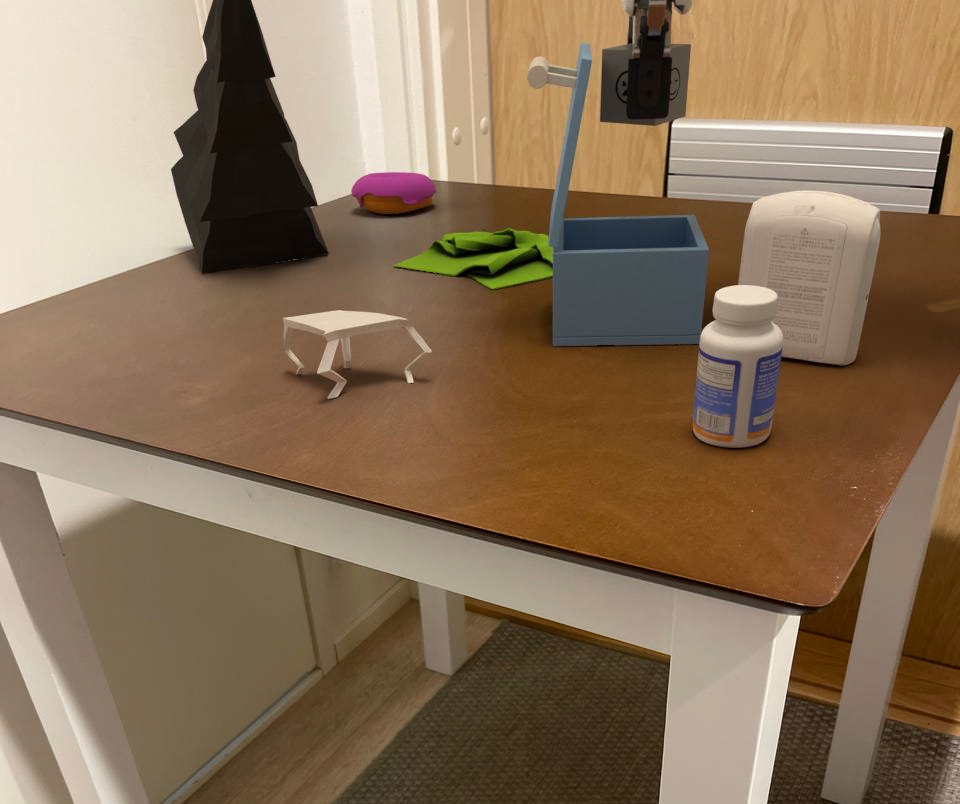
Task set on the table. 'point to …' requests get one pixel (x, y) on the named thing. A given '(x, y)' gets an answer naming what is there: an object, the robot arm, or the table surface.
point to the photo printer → (814, 269)
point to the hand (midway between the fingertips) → (644, 108)
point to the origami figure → (346, 337)
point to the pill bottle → (738, 368)
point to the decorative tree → (242, 155)
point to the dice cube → (617, 78)
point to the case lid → (578, 81)
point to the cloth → (489, 257)
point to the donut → (393, 192)
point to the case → (629, 281)
